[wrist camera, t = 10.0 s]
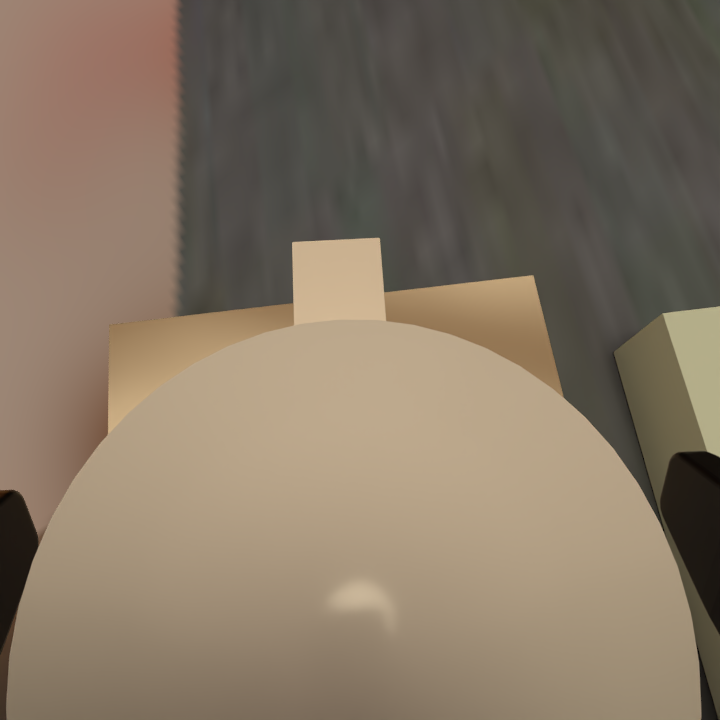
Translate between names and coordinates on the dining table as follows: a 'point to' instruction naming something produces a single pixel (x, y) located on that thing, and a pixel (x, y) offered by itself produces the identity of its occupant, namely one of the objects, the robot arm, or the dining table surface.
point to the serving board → (220, 329)
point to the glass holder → (678, 424)
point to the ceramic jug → (353, 541)
